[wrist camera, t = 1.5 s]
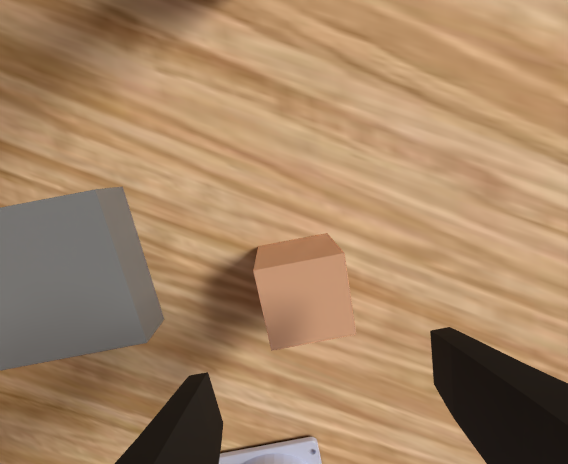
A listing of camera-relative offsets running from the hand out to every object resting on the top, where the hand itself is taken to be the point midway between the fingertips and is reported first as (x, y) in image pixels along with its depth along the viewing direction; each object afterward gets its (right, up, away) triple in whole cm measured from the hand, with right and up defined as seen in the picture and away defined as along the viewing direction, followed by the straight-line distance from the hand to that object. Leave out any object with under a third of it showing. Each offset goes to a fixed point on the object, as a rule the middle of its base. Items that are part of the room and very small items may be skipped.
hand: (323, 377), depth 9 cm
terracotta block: (0, +2, +9) cm, 10 cm away
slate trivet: (-15, +2, +9) cm, 17 cm away
